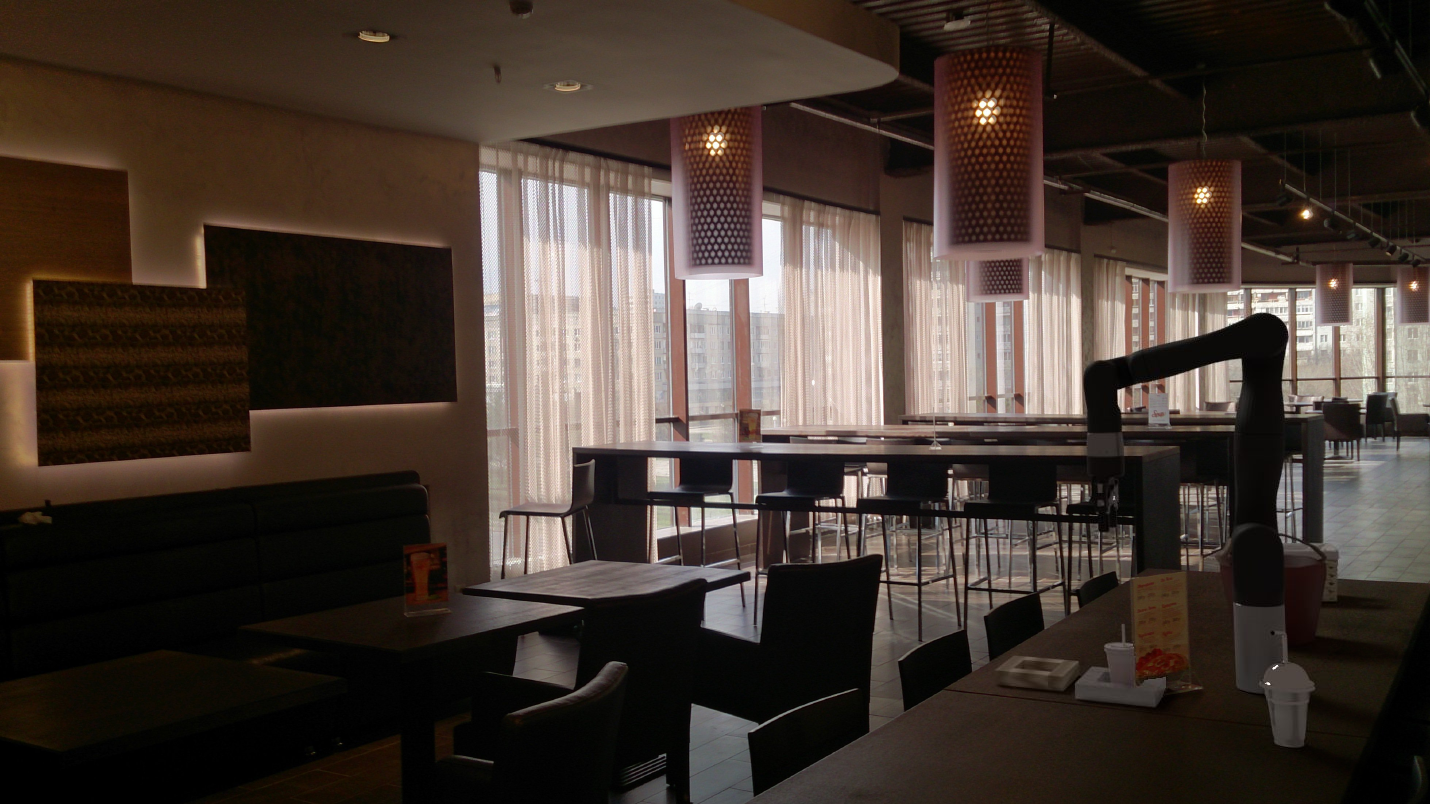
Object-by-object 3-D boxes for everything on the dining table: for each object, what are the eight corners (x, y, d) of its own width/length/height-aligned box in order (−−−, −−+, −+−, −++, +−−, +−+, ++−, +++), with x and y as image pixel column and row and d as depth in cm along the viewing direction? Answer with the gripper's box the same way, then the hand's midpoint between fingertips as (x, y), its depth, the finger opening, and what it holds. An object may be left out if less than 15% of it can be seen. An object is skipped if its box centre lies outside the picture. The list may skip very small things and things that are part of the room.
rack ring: (1168, 688, 224) (1168, 673, 224) (1155, 707, 211) (1154, 691, 211) (1092, 680, 232) (1091, 666, 232) (1075, 698, 219) (1074, 683, 219)
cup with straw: (1329, 747, 185) (1325, 628, 185) (1285, 754, 182) (1281, 633, 182) (1289, 733, 193) (1285, 619, 193) (1247, 739, 190) (1243, 623, 190)
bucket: (1218, 644, 259) (1214, 538, 259) (1214, 625, 280) (1210, 526, 280) (1337, 649, 250) (1333, 539, 250) (1324, 629, 271) (1320, 527, 270)
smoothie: (1142, 698, 218) (1139, 627, 217) (1108, 698, 219) (1105, 627, 219) (1136, 689, 224) (1134, 621, 224) (1103, 689, 225) (1101, 621, 225)
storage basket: (1245, 601, 309) (1243, 548, 309) (1241, 591, 324) (1239, 541, 324) (1342, 604, 299) (1340, 550, 299) (1334, 593, 314) (1332, 542, 314)
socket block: (1079, 675, 237) (1078, 661, 237) (1063, 691, 225) (1062, 676, 225) (1014, 668, 244) (1014, 655, 244) (995, 684, 232) (994, 670, 232)
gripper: (1117, 455, 227) (1120, 534, 227) (1129, 451, 239) (1132, 526, 239) (1080, 455, 231) (1082, 533, 231) (1093, 451, 243) (1096, 525, 243)
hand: (1107, 529), depth 235 cm, fingers open, 8 cm apart
